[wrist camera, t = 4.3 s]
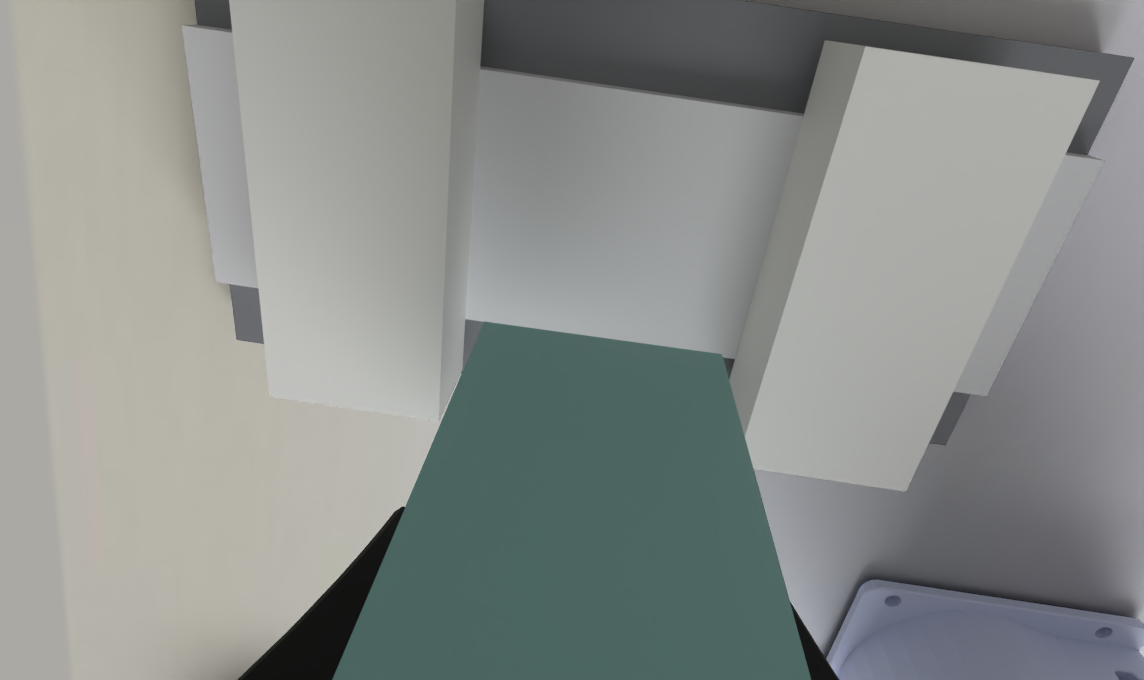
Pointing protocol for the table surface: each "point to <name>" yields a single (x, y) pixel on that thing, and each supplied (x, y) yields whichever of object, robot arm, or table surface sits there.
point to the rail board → (643, 200)
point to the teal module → (581, 527)
